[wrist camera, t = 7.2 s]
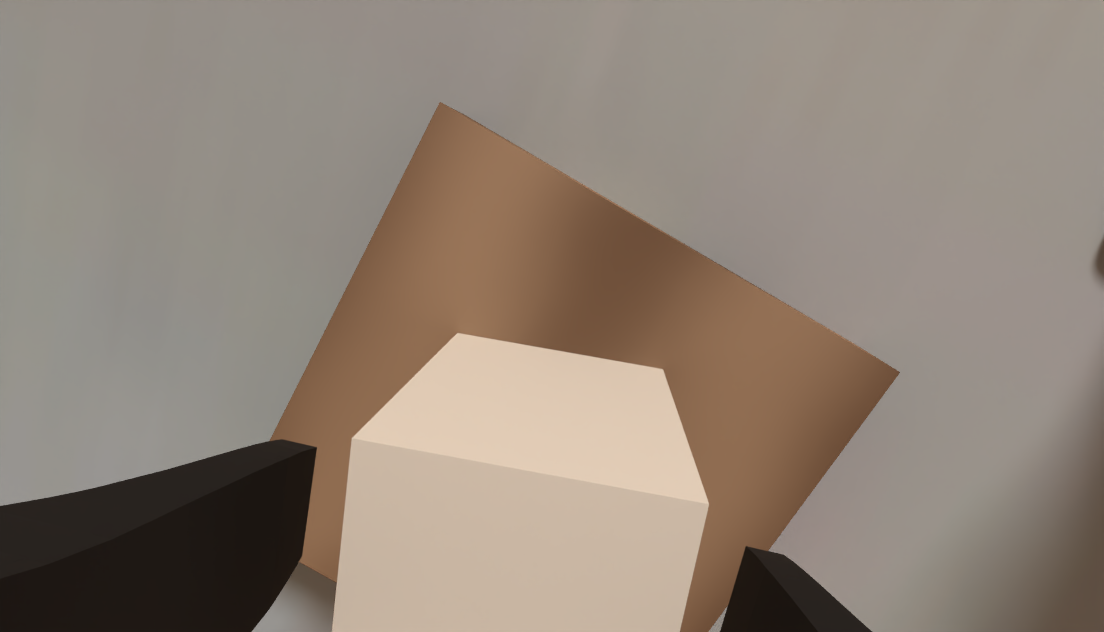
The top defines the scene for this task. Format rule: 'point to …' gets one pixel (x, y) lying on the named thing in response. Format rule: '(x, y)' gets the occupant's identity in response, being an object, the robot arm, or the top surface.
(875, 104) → the top surface
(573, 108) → the top surface
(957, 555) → the top surface
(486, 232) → the walnut block
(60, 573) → the robot arm
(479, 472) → the cream block
